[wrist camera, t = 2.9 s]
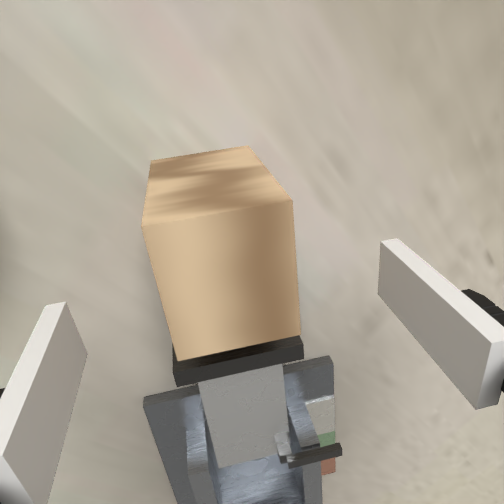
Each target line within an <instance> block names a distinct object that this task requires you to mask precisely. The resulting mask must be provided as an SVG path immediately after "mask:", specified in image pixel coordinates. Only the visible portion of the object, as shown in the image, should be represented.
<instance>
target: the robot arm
mask: <svg viewBox="0 0 504 504" xmlns="http://www.w3.org/2000/svg"><path fill="white" fill-rule="evenodd" d="M378 295H379V296H380V297H381V298H382V300H383V301H384V302H385V303H386V304H387V306H388V307H389V308H390V309H391V310H392V311H393V313H394V314H395V315H396V316H397V317H398V319H399V320H400V321H401V322H402V323H403V324H404V326H405V327H406V328H407V329H408V330H409V332H410V333H411V334H412V335H413V336H414V337H415V339H416V340H417V341H418V342H419V343H420V345H421V346H422V347H423V348H424V349H425V350H426V352H427V353H428V354H429V355H430V356H431V358H432V359H433V360H434V361H435V362H436V363H437V365H438V366H439V367H440V368H441V369H442V371H443V372H444V373H445V374H446V375H447V376H448V378H449V379H450V380H451V381H452V382H453V384H454V385H455V386H456V387H457V388H458V389H459V391H460V392H461V393H462V394H463V395H464V397H465V398H466V399H467V400H468V401H469V402H470V404H471V405H472V406H473V407H474V408H475V410H477V409H481V408H485V407H489V406H493V405H497V404H498V402H499V398H500V395H501V391H503V392H504V311H503V310H502V309H500V308H499V307H498V306H495V304H494V303H493V302H492V301H490V300H489V299H488V298H486V297H485V296H484V295H482V294H479V293H477V292H475V291H473V290H470V289H467V290H462V291H460V290H459V289H458V288H457V287H455V286H454V285H453V284H452V283H451V282H449V281H448V280H447V279H446V278H445V277H443V276H442V275H441V274H440V273H439V272H437V271H436V270H435V269H434V268H433V267H431V266H430V265H429V264H428V263H427V262H425V261H424V260H423V259H422V258H421V257H419V256H418V255H417V254H416V253H415V252H413V251H412V250H411V249H410V248H409V247H407V246H406V245H405V244H404V243H403V242H401V241H400V240H399V239H398V238H395V239H390V240H385V241H381V244H380V262H379V280H378ZM87 355H88V354H87V351H86V349H85V346H84V344H83V342H82V339H81V337H80V334H79V332H78V330H77V327H76V325H75V322H74V320H73V318H72V315H71V313H70V310H69V308H68V306H67V303H66V302H61V303H55V304H50V305H46V306H45V308H44V310H43V312H42V314H41V316H40V318H39V320H38V322H37V324H36V326H35V328H34V330H33V332H32V334H31V336H30V339H29V341H28V343H27V345H26V347H25V349H24V351H23V353H22V355H21V357H20V359H19V361H18V363H17V365H16V367H15V370H14V372H13V374H12V376H11V378H10V380H9V382H8V384H7V386H6V388H3V389H0V504H47V503H48V499H49V495H50V492H51V488H52V484H53V481H54V477H55V473H56V469H57V466H58V462H59V458H60V455H61V451H62V447H63V444H64V440H65V436H66V432H67V429H68V425H69V421H70V418H71V414H72V410H73V406H74V403H75V399H76V395H77V392H78V388H79V384H80V380H81V377H82V373H83V369H84V366H85V362H86V358H87Z"/></svg>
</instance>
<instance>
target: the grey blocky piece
mask: <svg viewBox="0 0 504 504" xmlns="http://www.w3.org/2000/svg"><path fill="white" fill-rule="evenodd" d="M172 345H173V342H172ZM300 359H304V350H303V343H302V341H301V338H300V336H299V335H297V336H293V337H288V338H283V339H279V340H274V341H270V342H265V343H260V344H256V345H251V346H246V347H242V348H237V349H233V350H228V351H223V352H219V353H214V354H209V355H205V356H200V357H196V358H191V359H186V360H182V361H178V360H177V357H176V353H175V349H174V346H173V375H174V378H175V382H176V385H177V387H180V386H184V385H189V384H193V383H198V386H199V391H200V395H201V399H202V403H203V407H204V411H205V415H206V419H207V423H208V427H209V431H210V435H211V439H212V443H213V447H214V451H215V455H216V459H217V463H218V467H219V468H223V467H227V466H231V465H235V464H239V463H243V462H247V461H251V460H255V459H259V458H263V457H267V456H271V455H275V454H278V456H279V460H280V463H281V464H284V463H287V465H288V468H289V469H291V468H295V467H299V466H303V465H307V464H311V463H315V462H319V461H323V460H327V459H330V458H334V457H338V456H342V447H341V445H340V443H335V444H331V445H327V446H323V447H319V448H315V449H311V450H307V451H303V452H299V453H295V454H292V451H291V448H290V437H289V427H288V417H287V407H286V396H285V386H284V376H283V366H282V363H287V362H291V361H296V360H300Z"/></svg>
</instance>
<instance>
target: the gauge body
mask: <svg viewBox="0 0 504 504" xmlns="http://www.w3.org/2000/svg"><path fill="white" fill-rule="evenodd" d="M283 376H284V386H285V396H286V407H287V417H288V427H289V437H290V448H291V451H292V454H295V453H299V452H303V451H307V450H311V449H315V448H319V447H323V446H327V445H331V444H335V398H334V373H333V362H332V360H331V358H330V356H325V357H320V358H316V359H311V360H307V361H302V362H298V363H293V364H289V365H285V366H283ZM143 408H144V411H145V413H146V416H147V419H148V422H149V425H150V427H151V430H152V433H153V436H154V439H155V441H156V444H157V447H158V450H159V453H160V455H161V458H162V461H163V464H164V466H165V469H166V472H167V475H168V478H169V480H170V483H171V486H172V489H173V492H174V494H175V497H176V500H177V503H178V504H322V479H321V475H325V474H329V473H333V472H335V457H334V458H330V459H327V460H323V461H319V462H315V463H311V464H307V465H303V466H299V467H295V468H291V469H289V468H288V465H287V463H284V464H281V463H280V460H279V456H278V454H275V455H271V456H267V457H263V458H259V459H255V460H251V461H247V462H243V463H239V464H235V465H231V466H227V467H223V468H219V467H218V463H217V459H216V455H215V451H214V447H213V443H212V439H211V435H210V431H209V427H208V423H207V419H206V415H205V411H204V407H203V403H202V399H201V395H200V391H199V386H198V385H195V386H191V387H187V388H182V389H178V390H173V391H169V392H164V393H160V394H155V395H151V396H146V397H144V402H143Z"/></svg>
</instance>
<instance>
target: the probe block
mask: <svg viewBox="0 0 504 504" xmlns="http://www.w3.org/2000/svg"><path fill="white" fill-rule="evenodd" d="M141 228H142V232H143V236H144V239H145V243H146V247H147V250H148V254H149V258H150V261H151V265H152V269H153V272H154V276H155V280H156V283H157V287H158V291H159V294H160V298H161V302H162V305H163V309H164V313H165V316H166V320H167V324H168V327H169V331H170V335H171V338H172V342H173V346H174V349H175V353H176V357H177V360H178V361H182V360H186V359H191V358H196V357H200V356H205V355H209V354H214V353H219V352H223V351H228V350H233V349H237V348H242V347H246V346H251V345H256V344H260V343H265V342H270V341H274V340H279V339H283V338H288V337H293V336H297V335H301V328H300V313H299V297H298V281H297V265H296V249H295V233H294V217H293V201H292V199H291V198H290V197H289V195H288V194H287V193H286V192H285V190H284V189H283V188H282V187H281V186H280V184H279V183H278V182H277V181H276V179H275V178H274V177H273V176H272V174H271V173H270V172H269V171H268V169H267V168H266V167H265V166H264V165H263V163H262V162H261V161H260V160H259V158H258V157H257V156H256V155H255V153H254V152H253V151H252V150H251V148H250V147H249V146H241V147H235V148H229V149H222V150H216V151H209V152H203V153H197V154H190V155H184V156H178V157H171V158H165V159H158V160H152V161H151V165H150V172H149V178H148V185H147V191H146V198H145V205H144V211H143V218H142V224H141Z"/></svg>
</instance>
